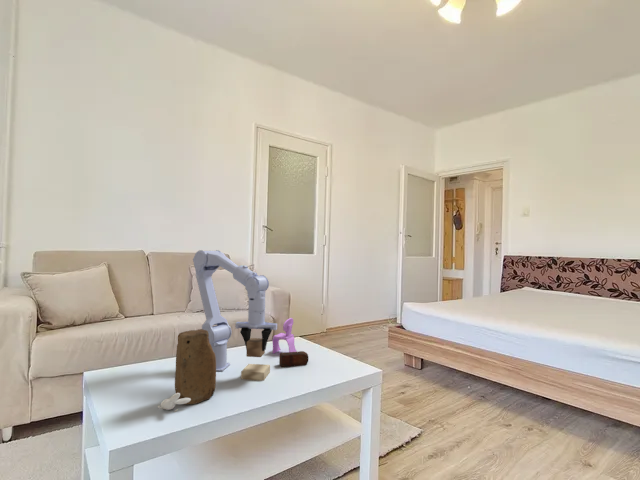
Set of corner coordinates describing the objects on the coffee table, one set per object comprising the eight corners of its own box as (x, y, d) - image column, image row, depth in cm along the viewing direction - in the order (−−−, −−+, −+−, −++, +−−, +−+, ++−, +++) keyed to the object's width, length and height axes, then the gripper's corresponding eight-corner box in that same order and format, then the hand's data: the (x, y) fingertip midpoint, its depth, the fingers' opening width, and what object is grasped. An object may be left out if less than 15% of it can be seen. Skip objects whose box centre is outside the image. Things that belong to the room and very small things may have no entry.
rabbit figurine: (167, 405, 99) (192, 393, 98) (167, 419, 96) (193, 407, 96) (152, 401, 94) (179, 388, 94) (153, 415, 91) (180, 402, 91)
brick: (281, 368, 130) (281, 355, 130) (279, 364, 134) (279, 352, 134) (308, 365, 134) (308, 353, 134) (305, 362, 138) (305, 350, 138)
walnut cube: (246, 356, 119) (246, 341, 119) (251, 352, 124) (251, 338, 124) (260, 357, 118) (260, 342, 118) (264, 352, 123) (264, 338, 123)
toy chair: (280, 348, 155) (280, 315, 155) (297, 351, 151) (298, 316, 152) (270, 354, 147) (270, 318, 148) (288, 356, 144) (289, 320, 144)
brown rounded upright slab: (178, 408, 96) (180, 336, 97) (173, 398, 103) (174, 330, 103) (217, 399, 102) (218, 331, 103) (210, 390, 109) (211, 326, 109)
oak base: (241, 380, 119) (241, 371, 119) (248, 372, 126) (248, 363, 127) (263, 381, 118) (264, 372, 118) (270, 373, 126) (270, 364, 126)
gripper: (232, 311, 118) (231, 352, 118) (274, 313, 117) (273, 354, 116) (239, 308, 125) (239, 346, 125) (279, 309, 124) (278, 348, 123)
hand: (256, 349), depth 121 cm, fingers closed on walnut cube, 5 cm apart
